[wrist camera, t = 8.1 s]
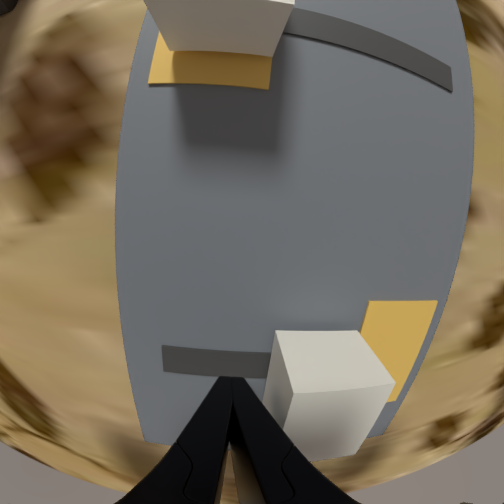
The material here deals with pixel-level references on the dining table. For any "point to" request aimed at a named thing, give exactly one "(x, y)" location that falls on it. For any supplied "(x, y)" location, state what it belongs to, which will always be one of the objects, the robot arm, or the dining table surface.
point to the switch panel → (291, 198)
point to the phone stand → (7, 5)
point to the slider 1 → (221, 24)
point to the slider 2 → (325, 390)
